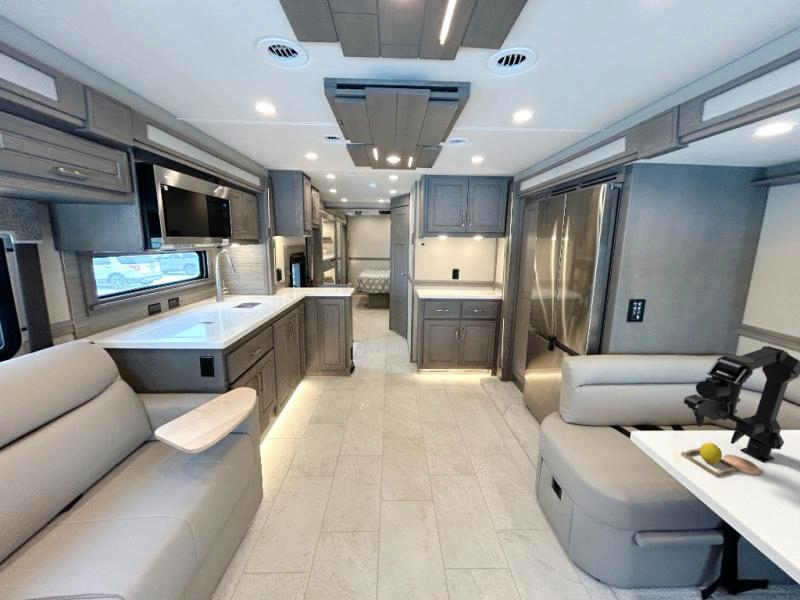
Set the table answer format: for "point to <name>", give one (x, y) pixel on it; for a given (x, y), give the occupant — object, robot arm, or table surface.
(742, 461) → the saucer
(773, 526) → the table surface
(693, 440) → the table surface
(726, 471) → the wooden picture frame
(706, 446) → the lemon
